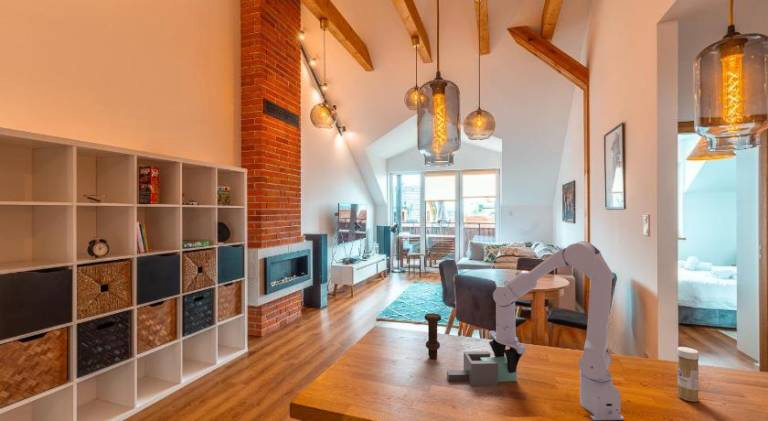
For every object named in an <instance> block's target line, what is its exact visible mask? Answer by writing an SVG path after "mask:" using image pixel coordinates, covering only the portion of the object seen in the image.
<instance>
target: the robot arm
mask: <svg viewBox="0 0 768 421" xmlns="http://www.w3.org/2000/svg"><path fill="white" fill-rule="evenodd" d="M567 266H571V267H573V268H574V269H576V270H579V271H581V272H582V273H583V274H584V275H585V276H586V277H587V278H588V279H589V280H590V286H589V297H588V298H589V299H588V310H587V312H588V313H587V324H586V326H587V327H586V337H585V338H586V339H585V342H584V346H583V352H582V353H583V354H582V355H580V356H581V357H580V358H579V359H578V367H579V403H580V406H582V408H584V409H585V410H586V411H589V412H590V413H591V414H588V417H590V418H591V420H593V421H619V420H620V421H623V420H624V419H625V417H624V416H623V415H622V413H621V412H622V410H621V407H622V404H621V401H622V400H621V392H620V391H619V389H618V388H617V387H616V386H615V385H614V382H613V379H612V378H613V377H612V374H611V372H610V370H609V367H610V366H611V364H612V360H613V359H612V355H611V353H610V351H609V340H608V338H609V325H610V313H611V301H612V300H611V299H612V287H613V286H612V285H613V272H612V270H611V268H610V267H609V265H608V263H607V261H606V260H605V258H604V256H603V255H602V253H601V250H600V249H599V248H597V247H596V246H595V245H594V244H592V243H591V242H589V241H584V240H582V241H581V240H580V241H578V242H576V243H575V242H574V243H571V244H569V245H568V246H566V247H565V248H562V249H560V250H558V251H555V252H554V253H552V254H551V255H550V256H548V257H547V258H546V259H545V260H543V261H542V262H541V263H539V264H538V265H536V266H535V267H534V268H532V269H531V270H530V271H527V270H522V271H520V270H518V271H516V272H515V273H514V274H515V276H513V277H512V278H511V279H509V280H505V281H504V282H503V284H504V285H503V284H502V285H501V286H497V287H496V288H495V289H494V291H493V293H492V298H493V301H494V302H495V330H491V331H488V339H492V340H491V341H489V344H488V345H489V346H490V347H491V350H492V352H493V355H494V356H493V357H506V358H507V364H508V372H509V373H514V372H516V368H517V367H518V364H519V361H520V359H521V358H522V356H523V355H524V354H526V346H524V345H523V344H522V342H519V338H518V337H517V335H516V324H517V323H516V302H517V300H518V299H520V298H521V297H523V296H525V295H526V294H528V293H529V292H531V291H533V290H534V289H535V288H536V287H537V284H538V283H537V282H538V281H539V280H540V279H541V278H543V277H544V276H546V275H548V274H549V273H550V272H552V271H554V270H555V269H556V268H558V267H559V268H561V267H567ZM506 347H508V348H506Z"/></svg>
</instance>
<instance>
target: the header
mask: <svg viewBox="0 0 768 421" xmlns="http://www.w3.org/2000/svg"><path fill="white" fill-rule="evenodd" d="M483 357H491V353H490V351H489V350H488V351H487V350H486V351H484V350H483V351H480V350H479V351H474V350H473V351H463V369H459V370H458V369H455V370H453V369H452V370H451V369H450V370H446V378H447V380H448V382H468V383H469V385H470V386H471V387H498V386H499V382H498V363H497V361H480V358H483Z"/></svg>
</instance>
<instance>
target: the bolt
mask: <svg viewBox="0 0 768 421" xmlns="http://www.w3.org/2000/svg"><path fill="white" fill-rule="evenodd" d="M424 320H425V321H427V326H428V328H427V335H428V340H427V341H426V342H425V347H426V348H427V350H428V352H427V354H428V357H429V359H431V360H432V359H433V360H436V359H437V358H438V350H439V349H440V347H441V344H440V342H439V341H438V322H440V321H441V320H442V316H441V315H440V314H438V313H434V312H433V313H432V312H431V313H430V312H429V313H426V314H425V315H424Z"/></svg>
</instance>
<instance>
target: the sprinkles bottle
mask: <svg viewBox="0 0 768 421" xmlns="http://www.w3.org/2000/svg"><path fill="white" fill-rule="evenodd" d="M676 354H677V359H678V360H677V394H676V395H677V396H678V397H679V398H680V399H682V400H684V401H688V402H694V403H695V402H699V360H700V352H699V351H698V350H697V349H694V348H691V347H685V346H678V347H677V350H676Z"/></svg>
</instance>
